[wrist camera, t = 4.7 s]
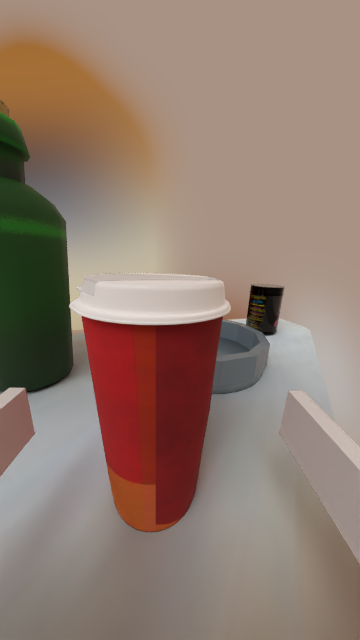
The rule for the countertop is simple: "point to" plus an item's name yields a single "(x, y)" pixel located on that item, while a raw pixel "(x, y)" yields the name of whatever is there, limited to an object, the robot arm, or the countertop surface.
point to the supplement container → (264, 307)
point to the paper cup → (152, 384)
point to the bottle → (30, 275)
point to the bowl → (239, 357)
